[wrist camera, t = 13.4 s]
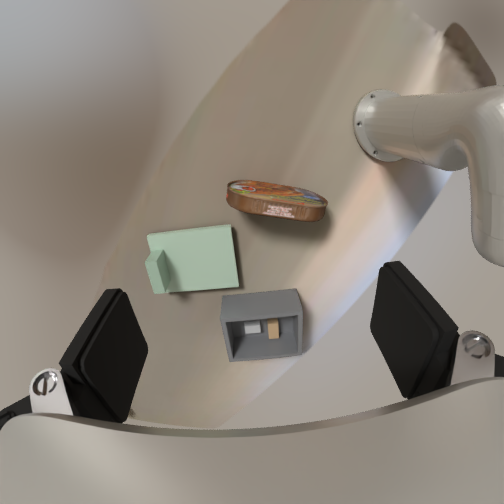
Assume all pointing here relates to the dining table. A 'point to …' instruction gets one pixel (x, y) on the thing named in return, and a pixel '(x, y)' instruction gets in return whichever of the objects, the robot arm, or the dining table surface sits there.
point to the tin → (275, 200)
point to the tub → (262, 325)
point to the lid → (192, 259)
